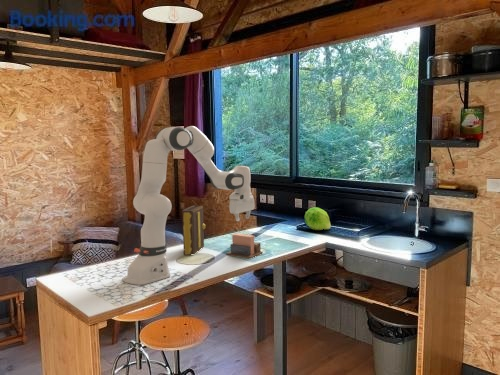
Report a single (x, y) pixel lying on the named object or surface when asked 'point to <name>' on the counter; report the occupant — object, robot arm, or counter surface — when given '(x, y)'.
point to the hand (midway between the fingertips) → (242, 219)
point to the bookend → (240, 249)
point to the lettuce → (317, 219)
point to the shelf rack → (256, 252)
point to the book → (193, 229)
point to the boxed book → (244, 241)
